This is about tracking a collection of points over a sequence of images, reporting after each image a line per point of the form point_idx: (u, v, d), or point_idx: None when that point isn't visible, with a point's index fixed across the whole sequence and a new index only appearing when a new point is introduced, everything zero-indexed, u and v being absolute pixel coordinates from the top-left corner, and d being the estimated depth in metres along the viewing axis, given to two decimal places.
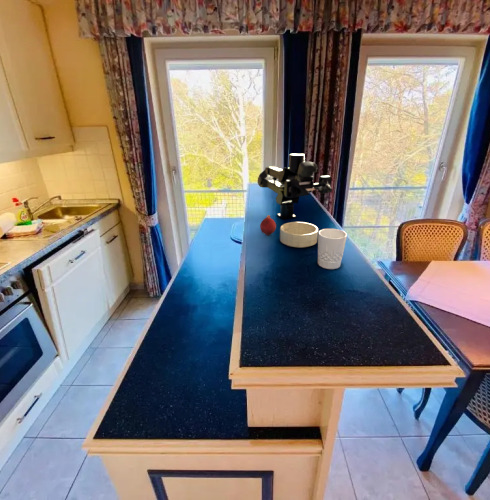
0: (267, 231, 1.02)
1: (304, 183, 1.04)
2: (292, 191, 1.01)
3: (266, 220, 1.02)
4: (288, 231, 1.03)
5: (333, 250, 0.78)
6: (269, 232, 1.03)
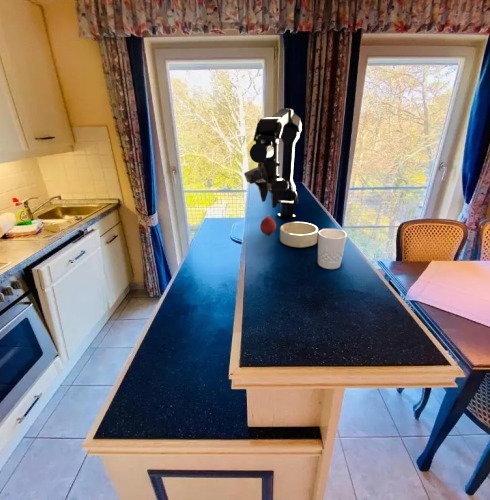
0: (267, 231, 1.02)
1: None
2: None
3: (266, 220, 1.02)
4: (288, 231, 1.03)
5: (333, 250, 0.78)
6: (269, 232, 1.03)
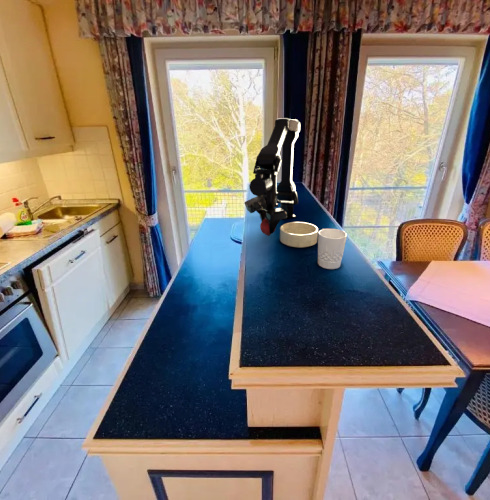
0: (267, 231, 1.02)
1: None
2: None
3: (266, 220, 1.02)
4: (288, 231, 1.03)
5: (333, 250, 0.78)
6: (269, 232, 1.03)
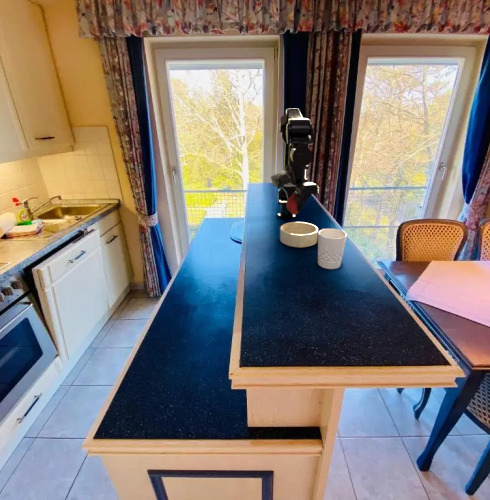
0: (295, 209, 0.94)
1: None
2: None
3: (294, 196, 0.93)
4: (288, 231, 1.03)
5: (333, 250, 0.78)
6: (297, 210, 0.94)
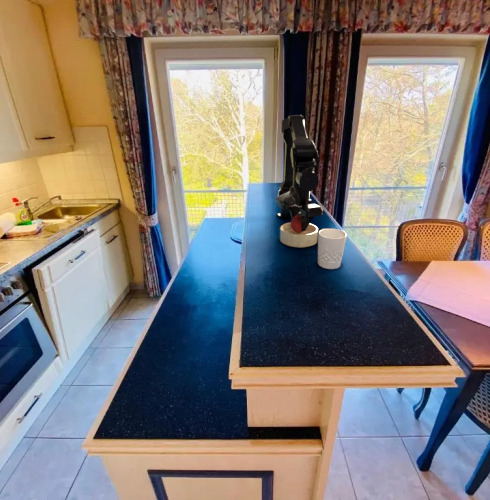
0: (299, 229, 0.96)
1: None
2: None
3: (298, 217, 0.96)
4: (288, 231, 1.03)
5: (333, 250, 0.78)
6: (301, 230, 0.96)
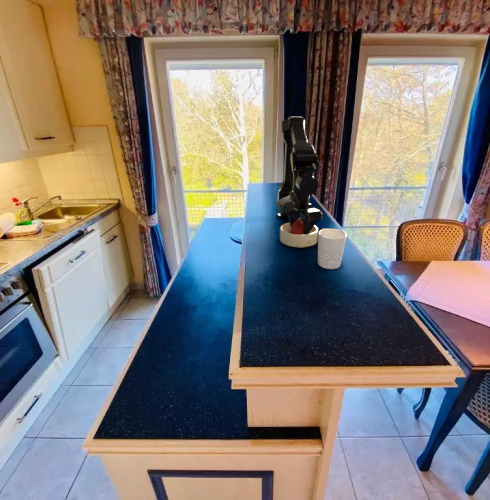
0: None
1: None
2: None
3: (297, 223, 0.97)
4: (288, 231, 1.03)
5: (333, 250, 0.78)
6: None
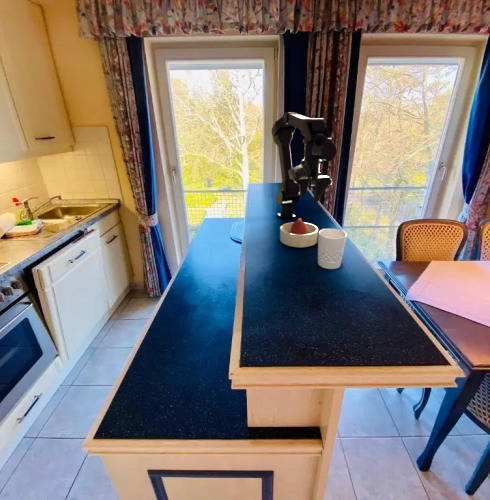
0: None
1: None
2: None
3: (297, 223, 0.97)
4: (288, 231, 1.03)
5: (333, 250, 0.78)
6: None
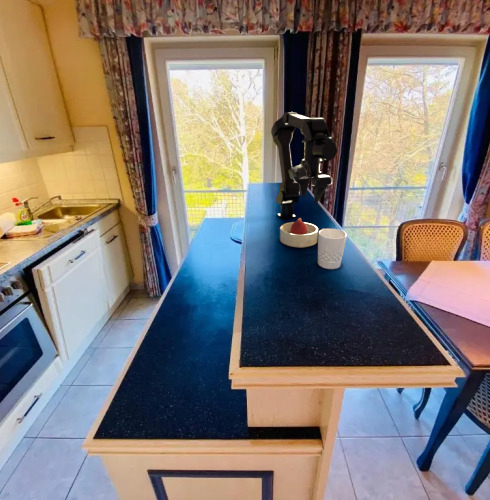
0: None
1: None
2: None
3: (297, 223, 0.97)
4: (288, 231, 1.03)
5: (333, 250, 0.78)
6: None
